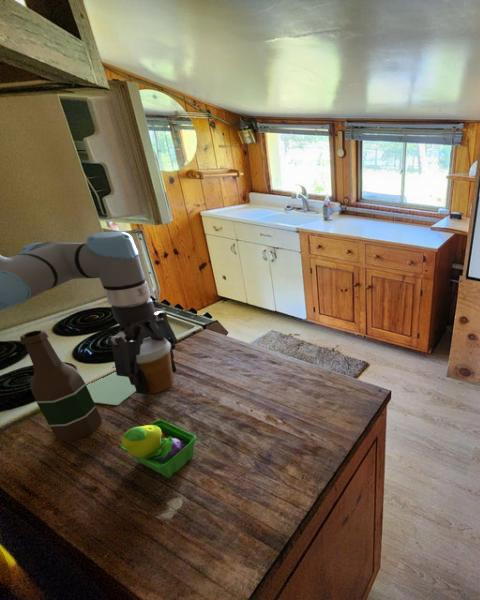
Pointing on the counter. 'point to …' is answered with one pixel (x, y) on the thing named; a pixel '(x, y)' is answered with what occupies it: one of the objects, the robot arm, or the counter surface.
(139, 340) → the robot arm
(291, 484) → the counter surface
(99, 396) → the mat
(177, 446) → the fruit basket
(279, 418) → the counter surface
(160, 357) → the disposable coffee cup
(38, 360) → the beer bottle
